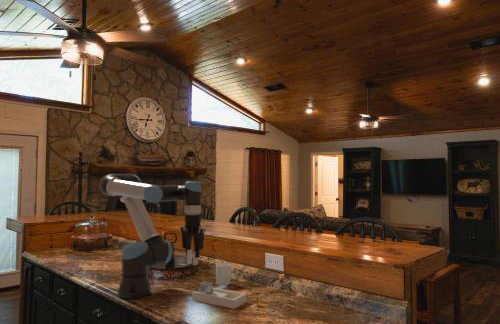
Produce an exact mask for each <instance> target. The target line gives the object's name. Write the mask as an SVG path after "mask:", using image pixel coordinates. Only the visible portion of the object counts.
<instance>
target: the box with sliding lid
mask: <svg viewBox="0 0 500 324" xmlns="http://www.w3.org/2000/svg"><path fill="white" fill-rule="evenodd" d="M191 300H192V301H196V302H199V303H204V304H205V303H206V304H211V305H213V306H214V305H215V306H220V307H223V308H224V307H225V308H229V309H236V308H238V307H240V306H242V305H244V304H246V303H247V293H244V292H238V291H233V290H228V289H227V290H223V289H218V288H216V287H213V293H210V294H205V293H200V292H199V291H195V290H194V291H192V292H191Z"/></svg>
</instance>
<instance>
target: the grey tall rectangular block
mask: <svg viewBox="0 0 500 324" xmlns="http://www.w3.org/2000/svg"><path fill="white" fill-rule="evenodd" d="M215 288H218V289H223V290H228V285H226V286H224V285H217V286H216V287H215Z"/></svg>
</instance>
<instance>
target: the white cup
mask: <svg viewBox="0 0 500 324" xmlns="http://www.w3.org/2000/svg"><path fill="white" fill-rule="evenodd" d="M231 268H232V264H231V263H229V262H218V263H215V278H216V286H220V285H224V286H229V285H230V284H231V275H232V274H231V272H232V269H231Z"/></svg>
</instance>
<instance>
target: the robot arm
mask: <svg viewBox="0 0 500 324" xmlns="http://www.w3.org/2000/svg"><path fill="white" fill-rule="evenodd" d="M98 187H99V188H98V189H99V190H100V192H101V193H102V194H103V195H104V196H108V197H116V196H118V198H119V201H120V202H121V203H124V204H125V206H126V209H127V211H128V213H129V216H130V219H131V220H132V223H133V225H134V227H135V229H136V232H137V234H138V236H139V239H140V240H141V241H137V242H131V243H128V244H126V245H124V246H123V248H122V251H121V252H122V253H121V280H120V283H119V287H118V289H117V297H119V298H120V299H127V300H128V299H130V300H131V299H140V298H141V299H142V298H144V297H147V296H150V294H151V293H152V286H151V285H150V280H149V277H148V269H151V268H155V267H158V266H163V265H165V264H167V263H169V262H170V261H171V259H172V257H173V245H172V244H171V242H170V241H168V240H165V239H164V237H163V236H162V234H159V233H158V232H157V230H156V228H155V226H154V223H153V221H152V219H151V217H150V214H149V213H148V211H147V208H146V206H145V204H144V201H146V202H148V203H155V204H157V203H163V202H176V201H177V202H179V201H180V202H181V201H182V202H184V213H185V214H184V223H185V224H184V225H183V226H181V227H180V232H181V243H182V244H181V246H182V249H184V250H185V256H186V265H191V264H192V266H197V265H198V264H199V258H200V250H201V251H202V250H203V249H204V241H205V240H204V239H205V233H206V228H203V227H202V225H201V222H202V215H201V213H202V184H201V181H198V180H196V181H194V180H193V181H192V180H191V181H190V180H189V181H187V180H186V181H185V183H184V185H182V184H169V185H168V184H167V185H157V184H150V183H144V182H142V180H141V178H140V177H139V176H138V175H136V174H132V173H109V174H106V175H104V176H103V177H102V178H101V179H100V181H99V184H98ZM143 200H144V201H143ZM192 239H193V247H194V248H193V249H194V250H193V249H192Z"/></svg>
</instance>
